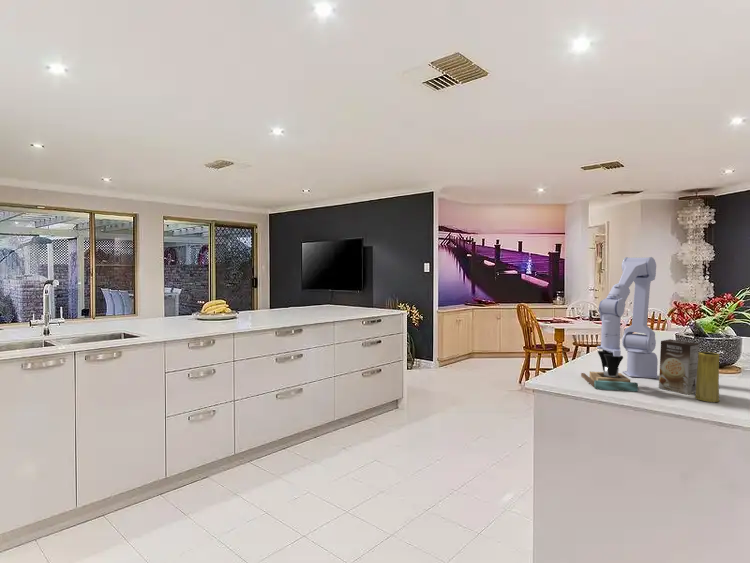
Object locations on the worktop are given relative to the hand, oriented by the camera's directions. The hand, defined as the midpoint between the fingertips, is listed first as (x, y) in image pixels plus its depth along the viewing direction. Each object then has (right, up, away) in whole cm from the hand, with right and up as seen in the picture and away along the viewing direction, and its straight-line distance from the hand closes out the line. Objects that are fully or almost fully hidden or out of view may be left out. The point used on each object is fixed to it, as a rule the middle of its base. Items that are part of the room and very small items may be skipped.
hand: (609, 373), depth 157 cm
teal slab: (0, -4, +2) cm, 4 cm away
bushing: (0, -4, 0) cm, 4 cm away
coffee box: (+19, -4, -6) cm, 21 cm away
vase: (+21, -5, -17) cm, 27 cm away
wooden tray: (0, -4, 0) cm, 4 cm away
